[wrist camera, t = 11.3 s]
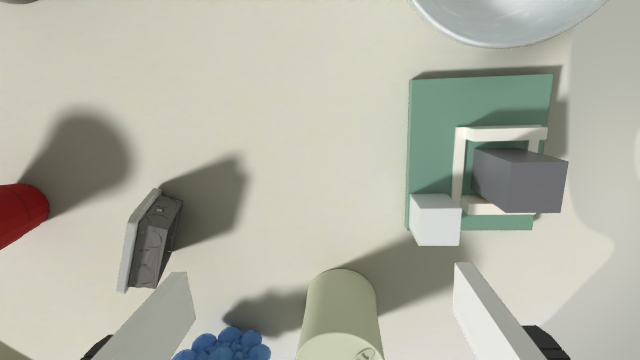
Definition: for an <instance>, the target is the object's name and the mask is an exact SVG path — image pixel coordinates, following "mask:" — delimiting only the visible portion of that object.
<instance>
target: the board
mask: <svg viewBox="0 0 640 360" xmlns="http://www.w3.org/2000/svg"><path fill="white" fill-rule="evenodd" d="M552 82H553V74H537V75H513V76H489V77H466V78H442V79H418V80H410V81H409V108H408V139H407V171H406V202H405V227H406V229H407V231H411V230H410V228H409V212H410V194H447V195H448V196H449V197H450V198H451V199H452V200H454V201H455V202H456V203H457V204H458V205H459V206H460V207H461V208H462V214H461V227H460V230H532V226H533V219H534V214H536V213H505V212H504V211H502V210H501V209H499V208H498V207H497V206H495V205H494V204H492V203H491V202H490V201H488V200H487V199H485V198H484V197H482V196H481V195H480V194H478V193H477V192H475V191H474V190H473V189H471V179H472V168H473V156H474V148H513V147H518V148H521V149H525V150H529V151H532V152H536V153H539V154H543V146H544V140H547V133H548V127H546V125H547V118H548V110H549V103H550V96H551V89H552Z"/></svg>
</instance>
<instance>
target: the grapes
mask: <svg viewBox="0 0 640 360" xmlns="http://www.w3.org/2000/svg"><path fill="white" fill-rule="evenodd" d="M261 342H262V337H261V335H260V333H258V332H257V331H253V330H250V331H247V332H245V333H244V334H243V335H242V333H241V331H240V329H238V328H237V327H232V326H231V327H227V328H225V329H224V330H223V331H222V332H221V333H220V334H219V336H218V340H217V339H216V337H215V336H214V335H212V334H209V333H205V334H202V335H200V336H199V337H198V338H196V340H195V341H194V342H193V344H192V348H191V349H192V350H189V349H186V350H182V351H180V352H179V353H177V354H176V355H175V356H174V357H173V359H172V360H269V359H270V355H271V351H270V349H269V347H267V346H266V345H264V344H261Z"/></svg>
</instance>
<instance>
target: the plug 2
mask: <svg viewBox="0 0 640 360" xmlns="http://www.w3.org/2000/svg"><path fill="white" fill-rule="evenodd" d="M567 168H568V161H564V160H561V159H557V158H554V157H550V156H546V155H543V154H539V153H536V152H532V151H529V150H525V149H521V148H518V147H513V148H474V156H473V168H472V179H471V189H473V190H474V191H475V192H477V193H478V194H480V195H481V196H482V197H484V198H485V199H487V200H488V201H490V202H491V203H492V204H494V205H495V206H497V207H498V208H499V209H501V210H502V211H504V212H505V213H560V211H561V205H562V199H563V193H564V187H565V181H566V175H567Z"/></svg>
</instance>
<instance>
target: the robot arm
mask: <svg viewBox="0 0 640 360" xmlns="http://www.w3.org/2000/svg"><path fill="white" fill-rule="evenodd" d="M0 1H1V2H5V3H10V4H26V3H31V2H34V1H37V0H0ZM453 314H454V316H455V318H456V320H457V322H458V324H459V326H460V328H461V330H462V332H463V333H464V335H465V337H466V339H467V341H468V343H469V345H470V347H471V349H472V351H473V353H474V355H475V357H476V359H477V360H570V357H569V356H568V355H567V354H566V353H565V351H564V350H562V349H561V347H560V346H559V344H557V342H556V341H555V340H554V339H553V338H552V337H551V335H549V334H548V333H546V332H545V331H543V330H542V329H540V328H539V327H538V326H536V325H534V326H521V325H520V324H519V322H518V321H517V320H516V319H515V317H514V316H513V315H512V313H511V312H510V311H509V310H508V308H507V307H506V306H505V304H504V303H503V302H502V301H501V299H500V298H499V297H498V295H497V294H496V293H495V291H494V290H493V289H492V288H491V286H490V285H489V284H488V282H487V281H486V280H485V279H484V277H483V276H482V275H481V273H480V272H479V271H478V270H477V268H476V267H475V266H474V264H473V263H472V262H455V269H454V293H453ZM195 319H196V315H195V311H194V306H193V301H192V297H191V292H190V287H189V282H188V278H187V273H186V272H172V273H171V274H170V275H169V276H168V277H167V278H166V279H165V280H164V281H163V282H162V283H161V285H160V286H159V287H158V288H157V289H156V290H155V291H154V292H153V293H152V294H151V295H150V296H149V297H148V299H147V300H146V301H145V302H144V303H143V304H142V305H141V306H140V307H139V308H138V309H137V310H136V311H135V313H134V314H133V315H132V316H131V317H130V318H129V319H128V320H127V321H126V322H125V323H124V324H123V325H122V327H121V328H120V329H119V330H118V331H117V332H116V333H115V334H114V335H108V336H106V337H105V338H103V339H102V340H101V341H99V342H98V343H96V344H95V345H94V346H93V347H92V348H91V349H90V350H89V351H88V352H87V353H86V354H85V355H84V358H81V359H80V360H170V359H171V357H172V356H173V354H174V353H175V351H176V349H177V348H178V346H179V345H180V343H181V341H182V340H183V338H184V337H185V335H186V334H187V332H188V330H189V329H190V327H191V326H192V324H193V323H194V321H195Z"/></svg>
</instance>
